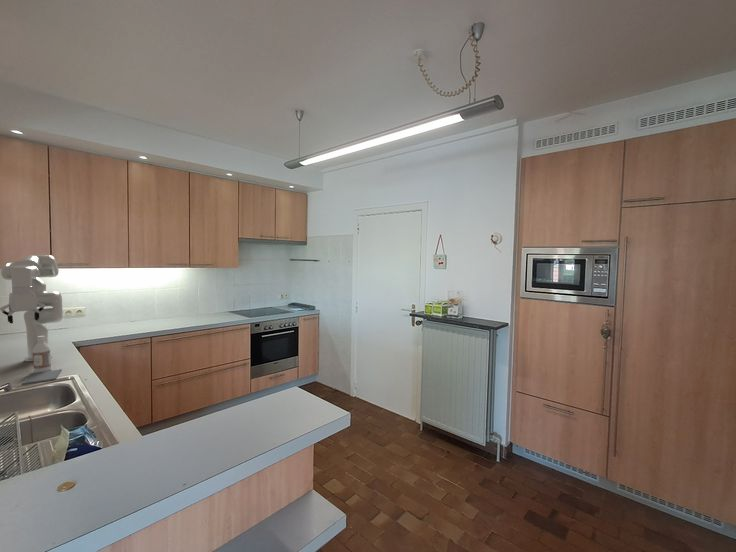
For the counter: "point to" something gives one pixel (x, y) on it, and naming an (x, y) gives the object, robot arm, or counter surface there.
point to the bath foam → (41, 356)
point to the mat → (41, 376)
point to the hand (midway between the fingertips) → (24, 321)
